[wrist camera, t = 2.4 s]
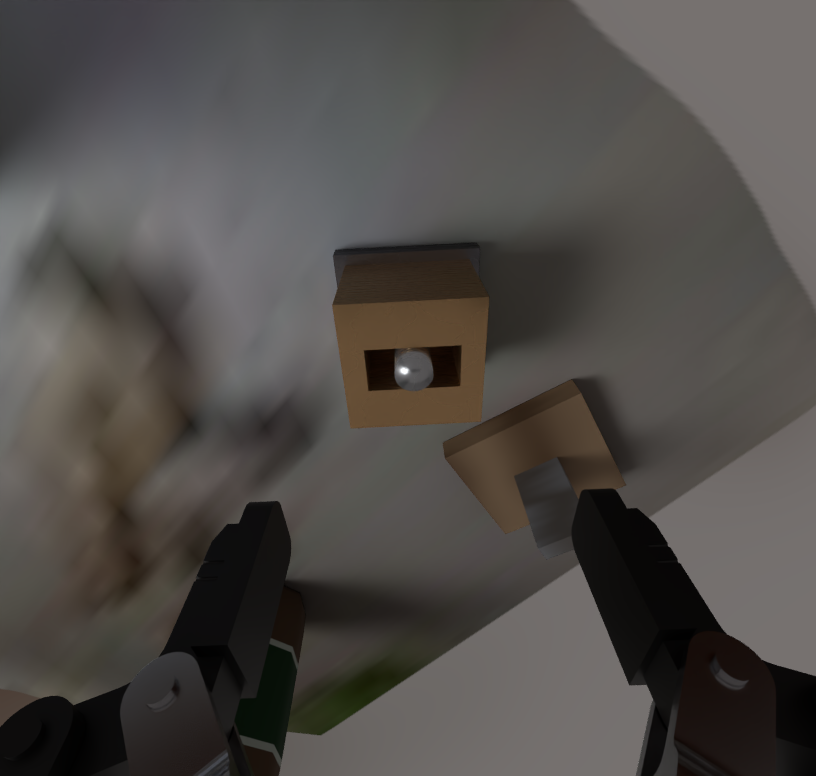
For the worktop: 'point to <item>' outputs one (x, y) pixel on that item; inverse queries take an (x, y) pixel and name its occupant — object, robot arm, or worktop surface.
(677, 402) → the worktop surface
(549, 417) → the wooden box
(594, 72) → the worktop surface
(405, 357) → the charcoal stand
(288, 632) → the beer bottle
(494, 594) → the worktop surface
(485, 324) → the brown slotted box
